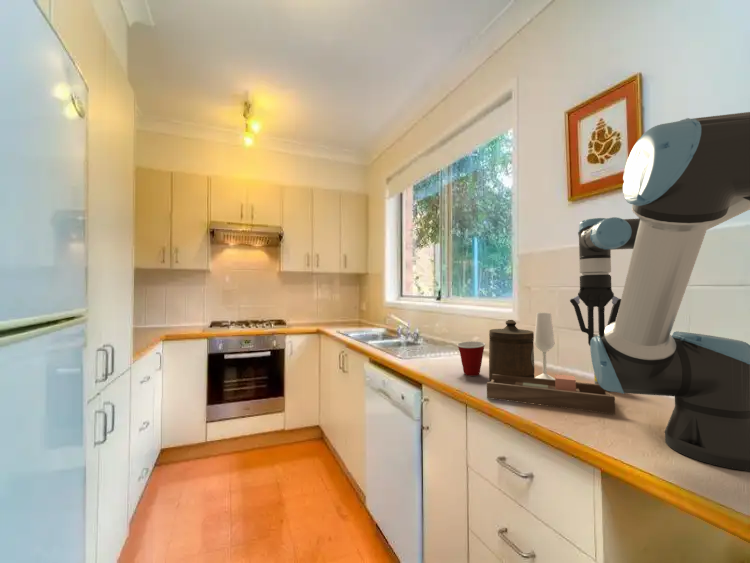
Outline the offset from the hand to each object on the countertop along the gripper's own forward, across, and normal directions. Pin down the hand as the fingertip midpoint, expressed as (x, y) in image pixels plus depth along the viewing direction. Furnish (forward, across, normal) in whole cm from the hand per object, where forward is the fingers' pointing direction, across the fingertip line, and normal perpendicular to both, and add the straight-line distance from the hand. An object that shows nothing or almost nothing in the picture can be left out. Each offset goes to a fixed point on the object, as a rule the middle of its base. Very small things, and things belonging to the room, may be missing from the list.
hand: (596, 357), depth 97 cm
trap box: (+13, +13, 0) cm, 18 cm away
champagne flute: (+14, +13, -26) cm, 32 cm away
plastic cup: (+14, +39, -21) cm, 46 cm away
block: (+10, +8, 0) cm, 13 cm away
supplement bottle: (+14, -4, -19) cm, 24 cm away
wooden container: (+14, +24, -15) cm, 31 cm away
